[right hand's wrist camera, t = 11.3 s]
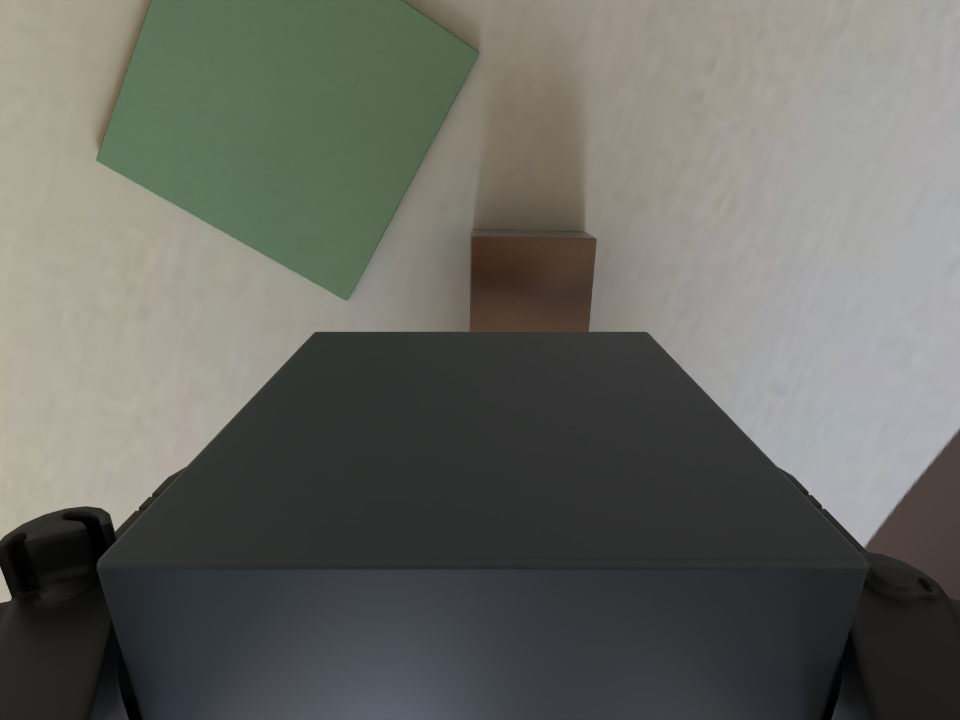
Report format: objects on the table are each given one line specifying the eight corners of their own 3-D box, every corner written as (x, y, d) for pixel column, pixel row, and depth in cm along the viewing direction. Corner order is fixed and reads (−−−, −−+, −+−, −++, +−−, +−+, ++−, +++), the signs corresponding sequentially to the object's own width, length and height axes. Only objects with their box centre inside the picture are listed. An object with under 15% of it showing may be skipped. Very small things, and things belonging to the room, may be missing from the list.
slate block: (314, 330, 13) (88, 563, 6) (648, 330, 13) (875, 563, 6) (333, 507, 15) (182, 866, 7) (628, 507, 15) (781, 866, 7)
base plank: (472, 229, 29) (468, 255, 20) (585, 231, 29) (629, 257, 20) (467, 617, 37) (463, 749, 29) (554, 618, 37) (576, 750, 29)
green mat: (202, -134, 24) (198, -139, 23) (479, 53, 26) (478, 52, 26) (100, 160, 28) (95, 160, 27) (348, 299, 30) (346, 301, 30)
